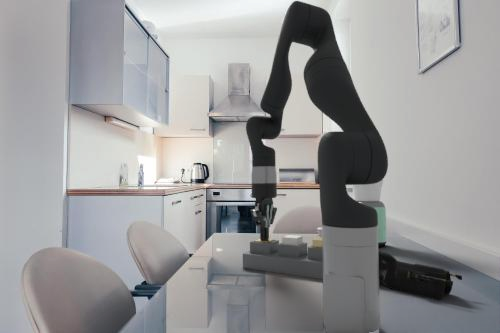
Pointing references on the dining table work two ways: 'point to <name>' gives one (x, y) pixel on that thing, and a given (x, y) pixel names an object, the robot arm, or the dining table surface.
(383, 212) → the juicer
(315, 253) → the console
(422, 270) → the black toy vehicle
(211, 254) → the dining table surface
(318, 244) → the brass metal cube
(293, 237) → the white square block
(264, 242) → the gold square block
